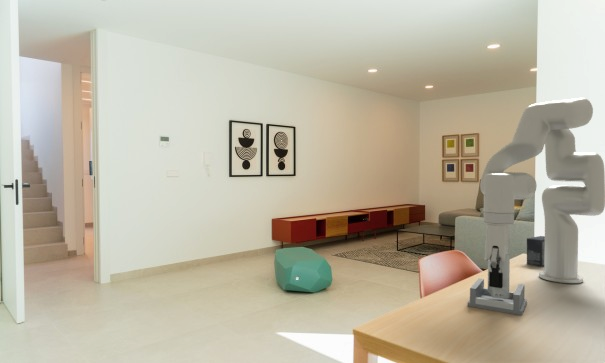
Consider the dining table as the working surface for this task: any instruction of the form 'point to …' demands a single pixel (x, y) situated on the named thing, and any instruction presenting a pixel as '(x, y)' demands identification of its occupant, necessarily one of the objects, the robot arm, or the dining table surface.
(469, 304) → the rest
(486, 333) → the dining table surface
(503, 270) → the skincare box
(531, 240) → the small box
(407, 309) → the dining table surface
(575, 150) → the robot arm
